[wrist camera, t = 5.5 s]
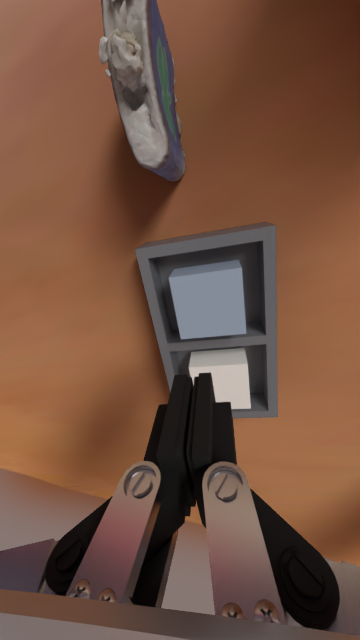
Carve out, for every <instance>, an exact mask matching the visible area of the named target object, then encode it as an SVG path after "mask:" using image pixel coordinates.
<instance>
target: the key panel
mask: <svg viewBox="0 0 360 640" xmlns="http://www.w3.org/2000/svg"><path fill="white" fill-rule="evenodd" d="M135 252H136V256H137V260H138V264H139V268H140V272H141V276H142V280H143V284H144V289H145V293H146V297H147V301H148V305H149V309H150V313H151V317H152V321H153V325H154V329H155V333H156V337H157V341H158V345H159V349H160V353H161V357H162V361H163V365H164V369H165V373H166V377H167V381H168V385H169V390H170V393H171V388H172V384H173V379H174V376H175V375H178V374H187V376H188V377H190V372H189V363H190V357H191V352H195V351H209V350H222V349H235V348H245V353H246V358H247V363H248V375H249V389H250V403H251V409H232V418H262V417H278V400H277V294H276V225H273V224H271V223H268V222H263V223H258V224H252V225H246V226H240V227H234V228H229V229H223V230H217V231H211V232H205V233H200V234H194V235H188V236H182V237H176V238H171V239H165V240H159V241H153V242H147V243H145V244H143V245H141V246H140V247H138V248H136V249H135ZM233 260H239V262H240V264H241V267H242V277H243V292H244V306H245V321H246V334H238V335H226V336H215V337H203V338H191V339H181V338H180V333H179V328H178V323H177V318H176V313H175V308H174V303H173V298H172V293H171V288H170V283H169V276H170V275H171V273H172V272H173V270H174V269H178V268H185V267H192V266H199V265H206V264H213V263H220V262H226V261H233Z"/></svg>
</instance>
